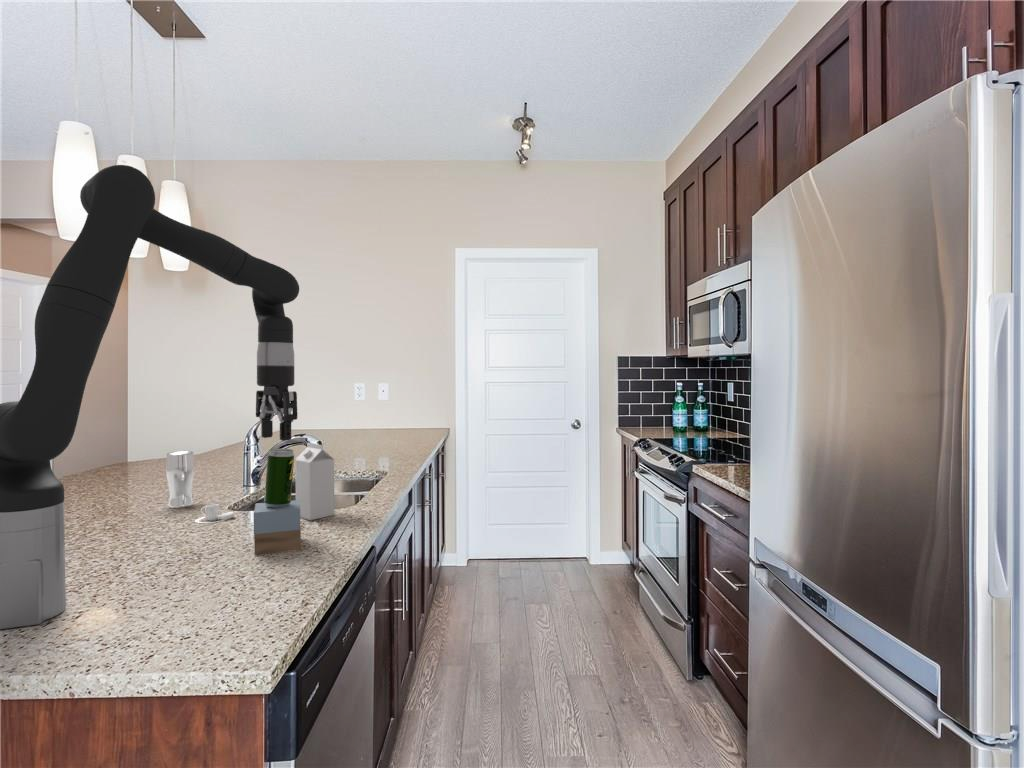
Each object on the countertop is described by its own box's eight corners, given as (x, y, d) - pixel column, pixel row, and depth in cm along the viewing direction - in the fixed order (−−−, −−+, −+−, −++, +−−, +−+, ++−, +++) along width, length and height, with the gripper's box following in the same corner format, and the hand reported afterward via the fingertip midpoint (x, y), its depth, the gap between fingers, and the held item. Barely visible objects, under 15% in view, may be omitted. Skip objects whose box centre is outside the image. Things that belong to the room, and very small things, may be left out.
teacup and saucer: (239, 518, 146) (239, 503, 146) (215, 526, 139) (215, 510, 139) (212, 516, 149) (212, 500, 149) (187, 523, 141) (187, 507, 141)
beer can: (265, 508, 118) (269, 452, 118) (262, 502, 123) (266, 448, 123) (292, 507, 121) (296, 452, 121) (288, 501, 125) (292, 448, 125)
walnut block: (300, 550, 120) (300, 529, 119) (254, 555, 116) (254, 534, 116) (299, 539, 128) (299, 519, 128) (256, 543, 124) (256, 523, 124)
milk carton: (319, 511, 153) (319, 441, 152) (334, 515, 148) (334, 444, 148) (295, 516, 147) (295, 444, 147) (310, 521, 143) (309, 446, 142)
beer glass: (170, 503, 161) (169, 451, 161) (197, 502, 163) (196, 450, 163) (163, 509, 154) (162, 455, 154) (191, 507, 156) (190, 454, 156)
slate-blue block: (300, 529, 119) (300, 508, 119) (253, 534, 116) (253, 512, 116) (299, 519, 128) (299, 500, 128) (255, 523, 124) (255, 503, 124)
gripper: (308, 364, 119) (308, 440, 120) (277, 364, 129) (277, 435, 129) (274, 363, 114) (274, 443, 114) (243, 364, 123) (244, 437, 123)
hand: (276, 438), depth 121 cm, fingers open, 8 cm apart
